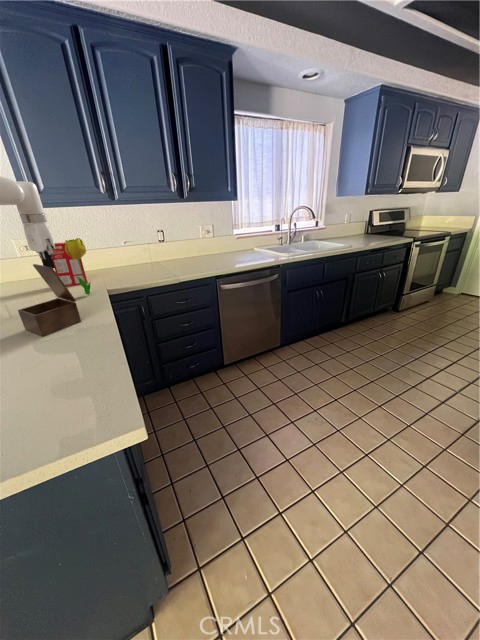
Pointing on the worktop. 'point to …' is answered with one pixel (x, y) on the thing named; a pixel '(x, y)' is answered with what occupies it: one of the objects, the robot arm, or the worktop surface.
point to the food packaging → (67, 266)
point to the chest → (49, 316)
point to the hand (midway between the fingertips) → (49, 268)
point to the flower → (77, 257)
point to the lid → (54, 282)
